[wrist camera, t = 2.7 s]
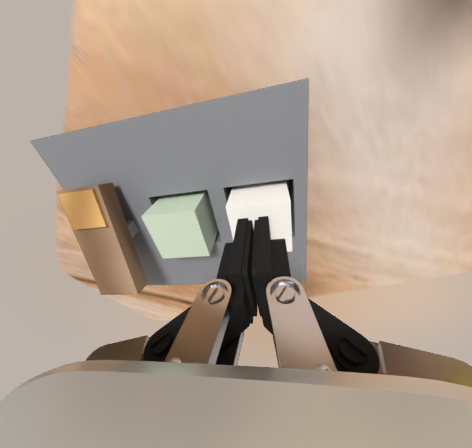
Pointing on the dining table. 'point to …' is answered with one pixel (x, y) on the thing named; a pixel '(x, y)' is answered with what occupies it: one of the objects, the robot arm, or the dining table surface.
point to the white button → (262, 207)
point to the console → (194, 167)
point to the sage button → (182, 224)
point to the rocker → (104, 238)
